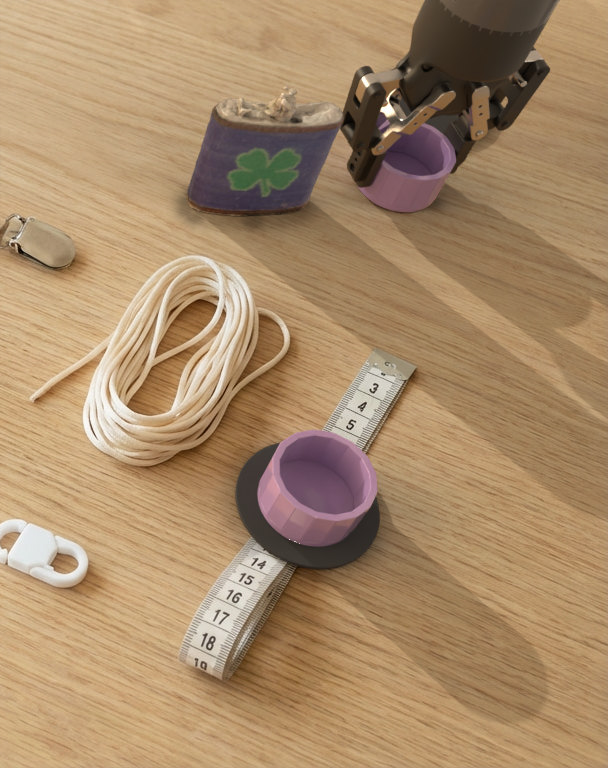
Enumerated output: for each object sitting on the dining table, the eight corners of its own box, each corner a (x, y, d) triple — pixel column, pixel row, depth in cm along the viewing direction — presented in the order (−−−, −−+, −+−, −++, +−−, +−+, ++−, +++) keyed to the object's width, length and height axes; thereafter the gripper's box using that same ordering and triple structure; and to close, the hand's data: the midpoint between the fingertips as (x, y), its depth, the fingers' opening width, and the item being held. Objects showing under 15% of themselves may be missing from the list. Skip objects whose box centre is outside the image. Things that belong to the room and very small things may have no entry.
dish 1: (332, 450, 79) (350, 422, 76) (374, 536, 75) (395, 509, 72) (242, 468, 78) (256, 439, 75) (280, 555, 74) (297, 529, 71)
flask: (303, 188, 92) (350, 80, 83) (311, 217, 91) (359, 110, 82) (182, 186, 92) (216, 77, 83) (187, 216, 90) (223, 108, 81)
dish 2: (414, 146, 95) (431, 113, 92) (451, 205, 92) (471, 173, 89) (340, 157, 94) (355, 124, 91) (375, 218, 91) (392, 185, 88)
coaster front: (341, 432, 80) (343, 430, 80) (402, 554, 75) (404, 551, 75) (214, 457, 78) (215, 454, 78) (267, 582, 74) (269, 580, 73)
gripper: (420, 42, 75) (333, 223, 89) (625, 14, 77) (510, 195, 91) (368, -35, 79) (293, 151, 93) (564, -59, 81) (463, 125, 95)
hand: (401, 172), depth 92 cm, fingers closed on dish 2, 6 cm apart
